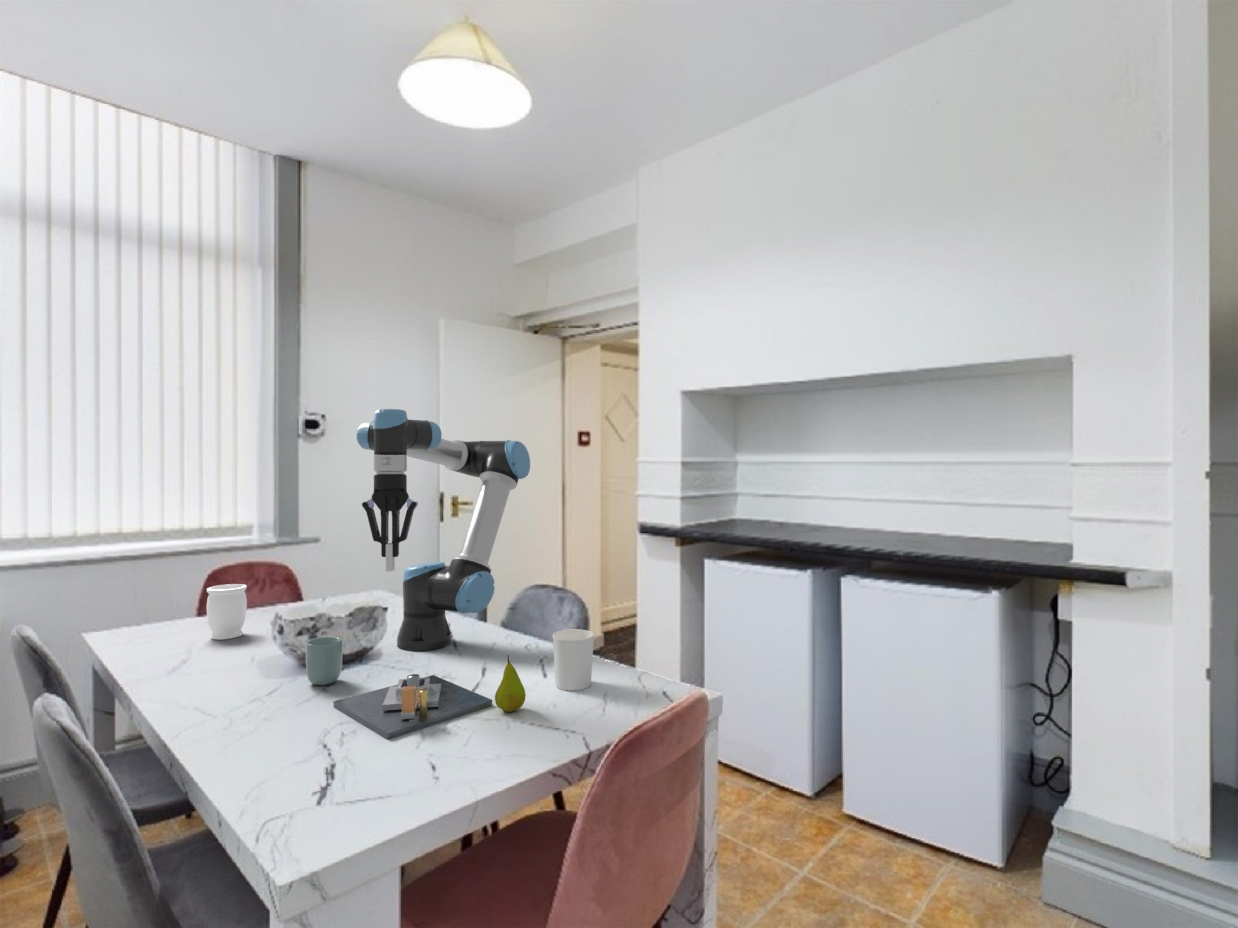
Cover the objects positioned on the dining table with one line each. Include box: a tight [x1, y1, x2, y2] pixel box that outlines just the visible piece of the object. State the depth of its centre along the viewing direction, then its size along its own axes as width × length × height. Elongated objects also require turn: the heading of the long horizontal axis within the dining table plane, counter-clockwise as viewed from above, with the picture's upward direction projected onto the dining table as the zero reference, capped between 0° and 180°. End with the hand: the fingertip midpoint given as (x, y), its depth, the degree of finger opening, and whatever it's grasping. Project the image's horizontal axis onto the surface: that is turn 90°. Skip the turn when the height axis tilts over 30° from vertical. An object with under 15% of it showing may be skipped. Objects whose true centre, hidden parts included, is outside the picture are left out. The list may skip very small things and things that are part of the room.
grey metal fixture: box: [383, 676, 441, 719], centre depth 138 cm, size 16×11×6 cm, turn 12°
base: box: [333, 673, 493, 740], centre depth 141 cm, size 24×24×6 cm
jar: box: [206, 583, 248, 641], centre depth 196 cm, size 11×10×15 cm
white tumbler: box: [552, 628, 595, 692], centre depth 154 cm, size 10×10×12 cm
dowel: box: [419, 690, 427, 717], centre depth 132 cm, size 2×2×5 cm
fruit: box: [494, 655, 526, 713], centre depth 138 cm, size 6×6×12 cm
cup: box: [305, 636, 343, 686], centre depth 155 cm, size 8×8×10 cm
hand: (390, 570), depth 158 cm, fingers closed
